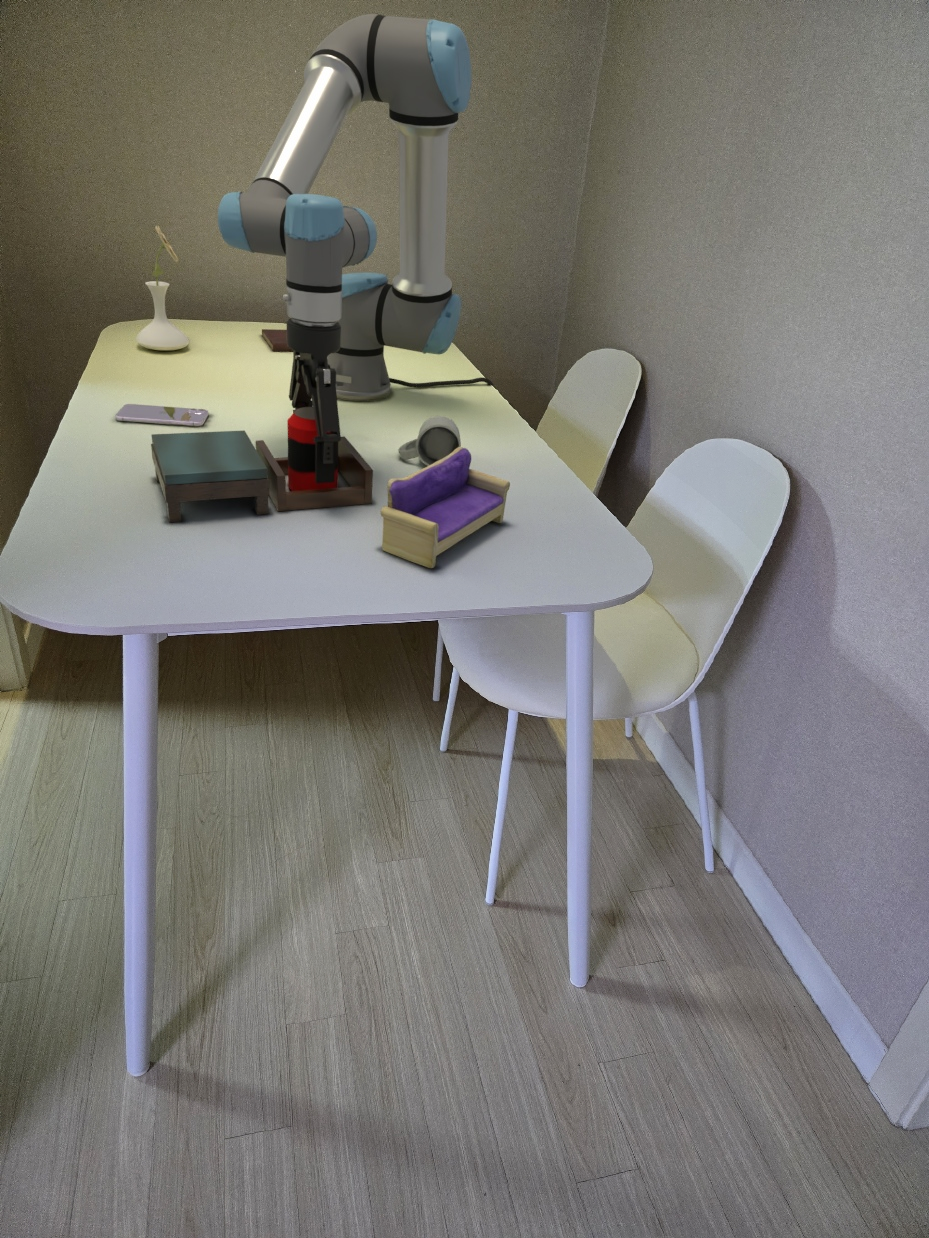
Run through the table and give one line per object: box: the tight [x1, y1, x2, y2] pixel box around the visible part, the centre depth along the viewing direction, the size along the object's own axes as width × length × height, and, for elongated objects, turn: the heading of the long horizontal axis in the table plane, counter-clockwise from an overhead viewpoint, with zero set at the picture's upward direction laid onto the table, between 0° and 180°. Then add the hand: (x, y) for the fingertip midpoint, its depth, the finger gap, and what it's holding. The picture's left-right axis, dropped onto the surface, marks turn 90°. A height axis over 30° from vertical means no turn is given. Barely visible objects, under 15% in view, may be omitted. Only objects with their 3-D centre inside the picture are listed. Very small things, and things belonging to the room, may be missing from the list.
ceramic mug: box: [397, 415, 462, 467], centre depth 137 cm, size 11×8×8 cm
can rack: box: [255, 435, 374, 512], centre depth 123 cm, size 14×14×6 cm
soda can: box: [286, 407, 339, 491], centre depth 121 cm, size 8×8×12 cm
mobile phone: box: [115, 403, 210, 427], centre depth 143 cm, size 8×1×15 cm
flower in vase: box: [135, 225, 190, 351], centre depth 175 cm, size 13×11×25 cm
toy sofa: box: [380, 446, 511, 569], centre depth 112 cm, size 21×9×10 cm, turn 148°
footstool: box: [150, 430, 270, 523], centre depth 116 cm, size 14×16×7 cm
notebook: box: [261, 328, 293, 352], centre depth 197 cm, size 15×20×2 cm
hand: (313, 465), depth 122 cm, fingers open, 12 cm apart
